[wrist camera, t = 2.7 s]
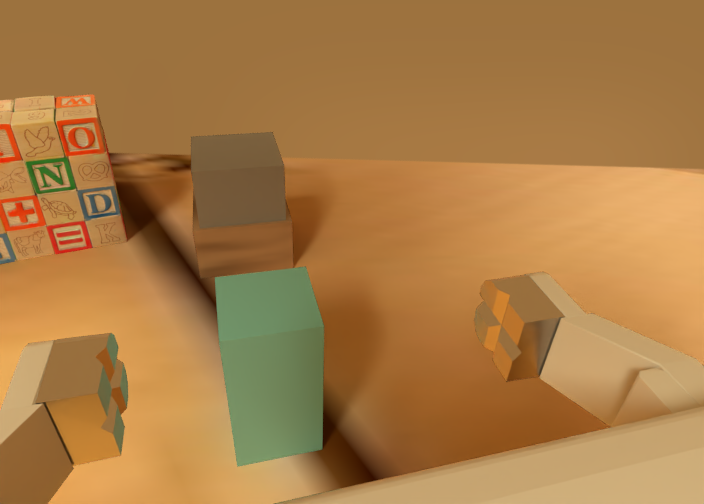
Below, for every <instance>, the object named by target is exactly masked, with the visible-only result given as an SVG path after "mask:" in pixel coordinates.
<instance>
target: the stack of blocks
mask: <svg viewBox="0 0 704 504" xmlns="http://www.w3.org/2000/svg"><path fill="white" fill-rule="evenodd" d="M122 242H127V235H126V230H125V225H124V220H123V214H122V209H121V204H120V200H119V196H118V192H117V188H116V183H115V179H114V174H113V170H112V166H111V161H110V157H109V152H108V148H107V144H106V139H105V135H104V131H103V127H102V125H101V121H100V117H99V113H98V108H97V104H96V100H95V96H94V95H80V96H66V97H57V98H55V97H54V96H40V97H26V98H16V99H15V100H1V101H0V264H3V263H9V262H14V261H18V260H25V259H30V258H36V257H41V256H47V255H52V254H60V253H66V252H71V251H77V250H83V249H88V248H93V247H100V246H106V245H111V244H117V243H122Z"/></svg>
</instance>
